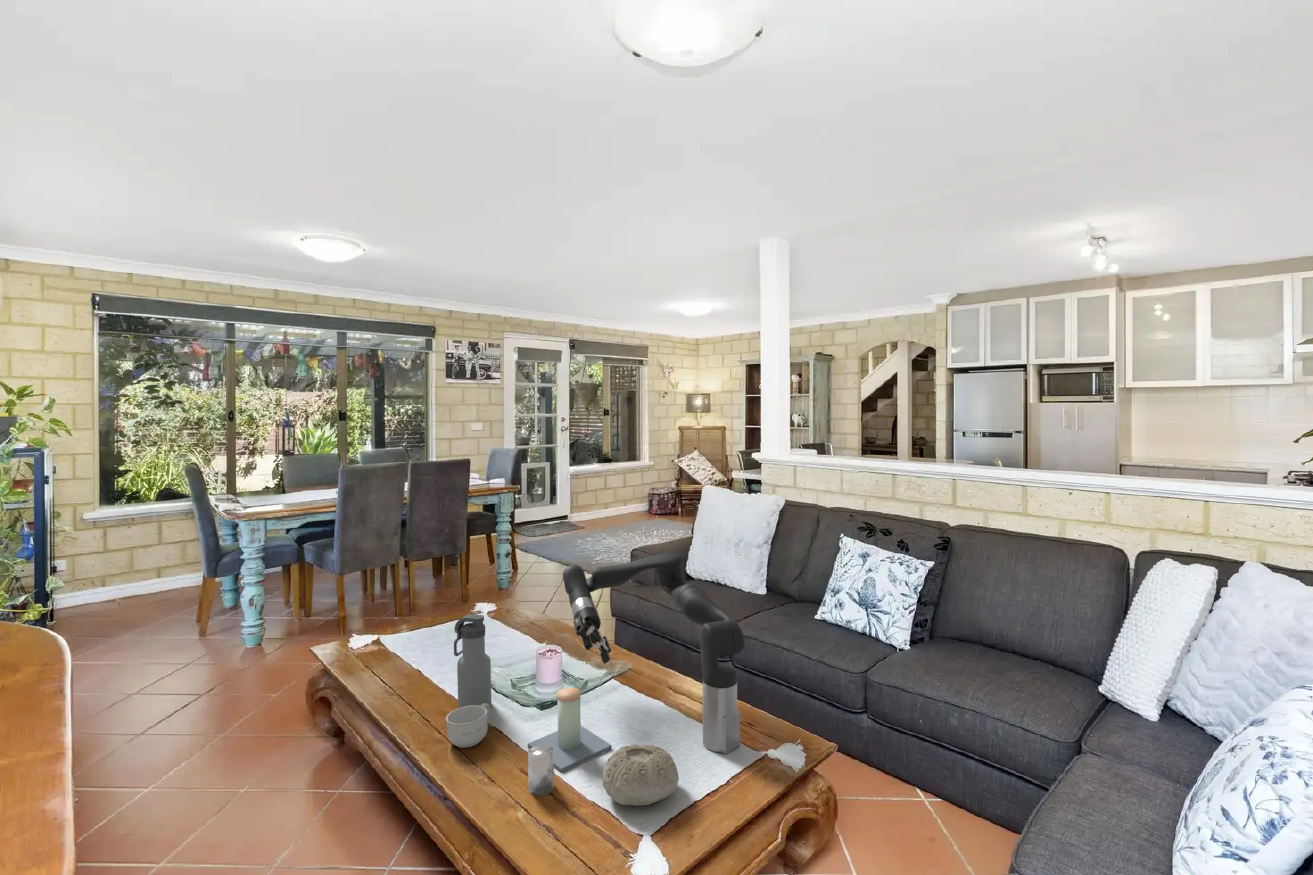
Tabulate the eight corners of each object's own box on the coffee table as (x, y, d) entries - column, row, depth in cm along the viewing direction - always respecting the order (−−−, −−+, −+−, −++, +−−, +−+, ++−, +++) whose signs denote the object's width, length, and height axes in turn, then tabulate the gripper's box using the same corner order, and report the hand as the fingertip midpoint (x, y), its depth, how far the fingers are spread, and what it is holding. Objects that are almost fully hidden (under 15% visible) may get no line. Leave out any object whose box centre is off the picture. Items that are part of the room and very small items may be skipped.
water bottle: (450, 712, 188) (448, 620, 186) (467, 697, 197) (465, 610, 196) (481, 716, 185) (479, 623, 184) (497, 701, 195) (495, 612, 193)
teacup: (462, 757, 164) (462, 727, 163) (438, 744, 170) (437, 715, 170) (505, 734, 175) (504, 706, 174) (480, 723, 181) (480, 696, 181)
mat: (611, 748, 167) (611, 745, 167) (561, 772, 157) (561, 768, 156) (576, 726, 179) (576, 722, 179) (527, 747, 168) (527, 743, 168)
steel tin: (558, 788, 150) (558, 751, 150) (537, 799, 146) (536, 761, 146) (545, 777, 155) (544, 741, 154) (523, 787, 151) (523, 751, 150)
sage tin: (585, 740, 170) (585, 689, 169) (573, 752, 164) (573, 700, 163) (565, 735, 172) (564, 686, 171) (553, 747, 166) (552, 696, 165)
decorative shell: (637, 763, 160) (637, 725, 160) (693, 790, 149) (693, 749, 149) (587, 797, 147) (586, 756, 146) (645, 829, 135) (644, 784, 135)
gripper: (589, 633, 196) (602, 673, 183) (561, 611, 188) (572, 651, 175) (608, 619, 196) (622, 658, 182) (581, 596, 188) (593, 635, 174)
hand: (598, 654), depth 179 cm, fingers open, 8 cm apart
